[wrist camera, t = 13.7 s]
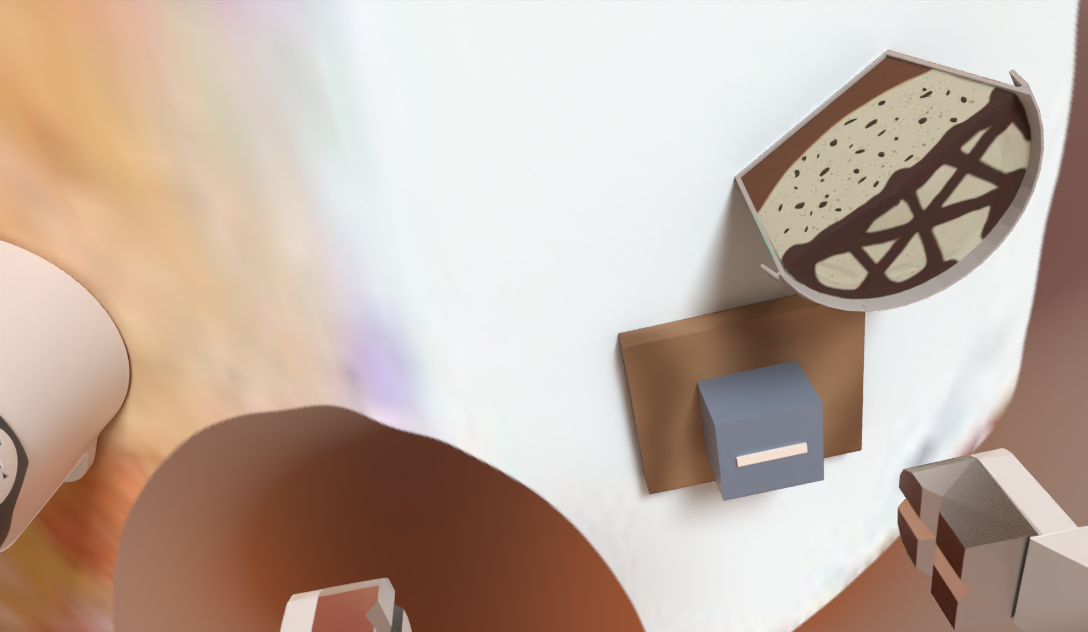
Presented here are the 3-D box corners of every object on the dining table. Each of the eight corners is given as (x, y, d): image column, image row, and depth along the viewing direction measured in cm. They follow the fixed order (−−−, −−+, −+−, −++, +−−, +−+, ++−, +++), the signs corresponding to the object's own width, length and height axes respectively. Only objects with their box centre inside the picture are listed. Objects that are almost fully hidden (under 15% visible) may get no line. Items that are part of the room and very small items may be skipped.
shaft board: (645, 478, 51) (659, 529, 48) (618, 333, 45) (632, 379, 41) (851, 435, 51) (882, 483, 47) (854, 282, 45) (889, 323, 41)
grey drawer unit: (706, 454, 49) (724, 503, 45) (696, 381, 46) (715, 427, 42) (799, 435, 48) (825, 482, 45) (796, 360, 45) (824, 404, 42)
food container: (775, 266, 44) (849, 369, 35) (712, 195, 41) (775, 288, 32) (970, 116, 40) (1105, 191, 31) (914, 27, 37) (1045, 83, 29)
